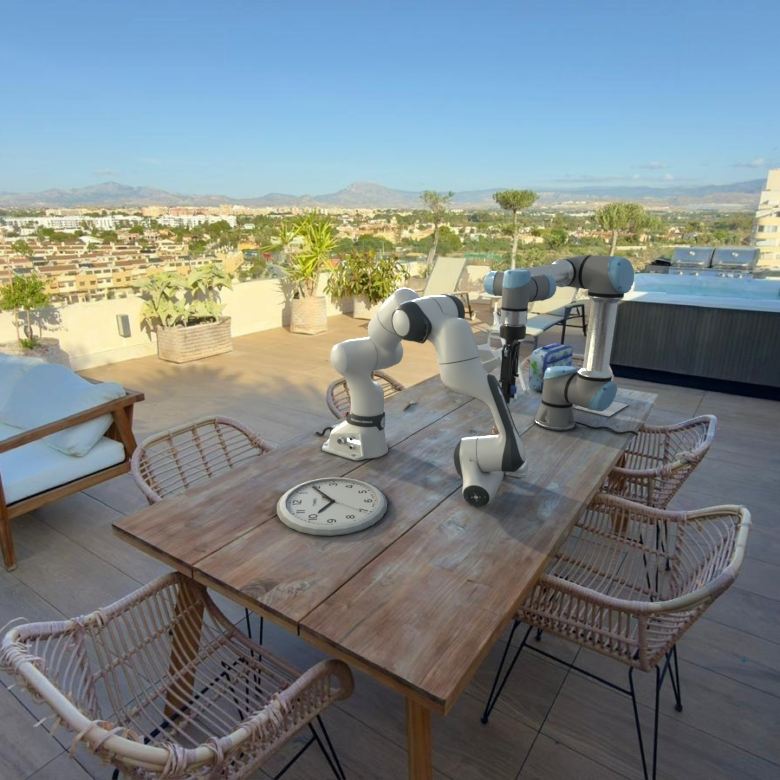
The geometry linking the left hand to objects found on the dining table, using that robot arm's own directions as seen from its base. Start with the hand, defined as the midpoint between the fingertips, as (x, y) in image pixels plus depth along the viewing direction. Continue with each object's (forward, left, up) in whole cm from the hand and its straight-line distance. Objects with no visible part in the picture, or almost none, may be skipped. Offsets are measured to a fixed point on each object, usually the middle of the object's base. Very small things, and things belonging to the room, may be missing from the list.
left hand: (497, 453), depth 162 cm
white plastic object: (-23, +80, -6) cm, 84 cm away
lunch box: (+6, +102, -6) cm, 102 cm away
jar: (0, -1, -6) cm, 6 cm away
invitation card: (+30, +82, -6) cm, 88 cm away
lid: (+1, +3, +21) cm, 21 cm away
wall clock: (-37, -38, -6) cm, 54 cm away
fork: (-46, +48, -6) cm, 67 cm away
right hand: (+1, +3, +17) cm, 17 cm away
